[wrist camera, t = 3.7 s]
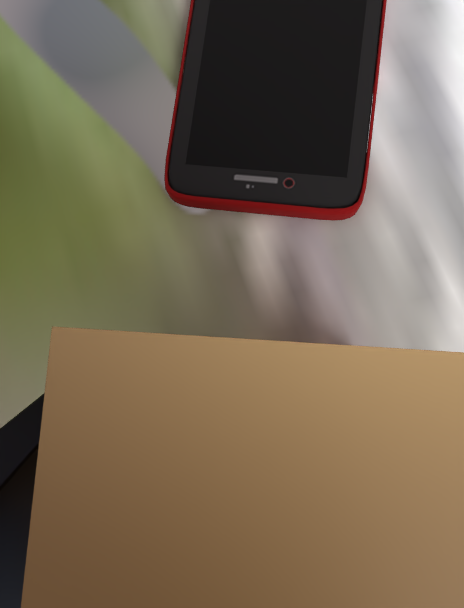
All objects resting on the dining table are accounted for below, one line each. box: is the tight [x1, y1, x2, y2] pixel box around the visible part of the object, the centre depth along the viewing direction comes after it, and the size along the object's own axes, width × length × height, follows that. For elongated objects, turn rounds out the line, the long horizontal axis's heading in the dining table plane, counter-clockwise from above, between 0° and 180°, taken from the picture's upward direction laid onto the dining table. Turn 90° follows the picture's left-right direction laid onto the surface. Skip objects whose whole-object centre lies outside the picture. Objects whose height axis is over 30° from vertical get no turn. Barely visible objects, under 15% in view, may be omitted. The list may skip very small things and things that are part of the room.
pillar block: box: [21, 327, 464, 608], centre depth 9 cm, size 4×4×13 cm
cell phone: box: [165, 0, 387, 220], centre depth 17 cm, size 8×15×1 cm, turn 172°
